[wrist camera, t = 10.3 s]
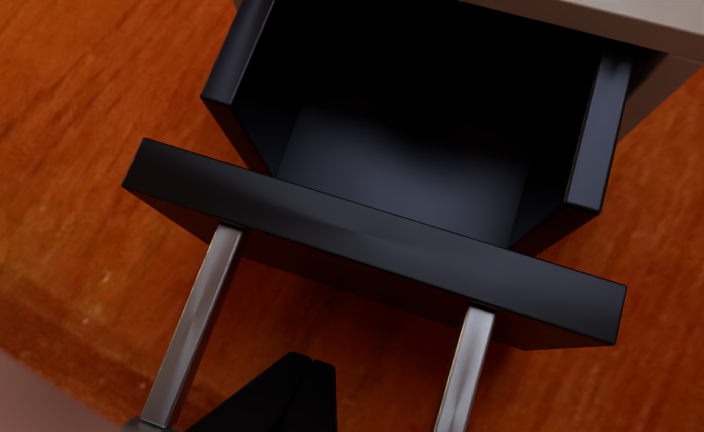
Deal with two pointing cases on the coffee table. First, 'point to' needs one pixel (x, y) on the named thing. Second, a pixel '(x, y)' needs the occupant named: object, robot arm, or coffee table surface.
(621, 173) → the coffee table surface
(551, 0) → the grey drawer unit
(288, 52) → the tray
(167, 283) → the coffee table surface
